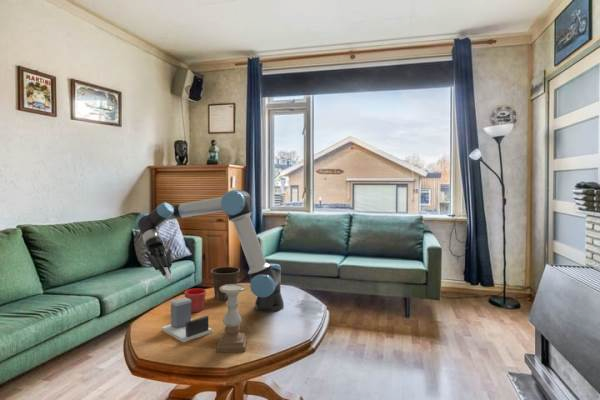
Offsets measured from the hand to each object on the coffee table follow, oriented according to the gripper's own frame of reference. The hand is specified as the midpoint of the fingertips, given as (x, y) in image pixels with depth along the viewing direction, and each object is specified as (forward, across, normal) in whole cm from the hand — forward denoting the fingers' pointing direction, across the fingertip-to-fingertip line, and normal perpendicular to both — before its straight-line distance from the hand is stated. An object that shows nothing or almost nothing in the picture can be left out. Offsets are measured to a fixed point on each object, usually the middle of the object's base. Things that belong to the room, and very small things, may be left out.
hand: (169, 280), depth 166 cm
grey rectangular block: (+20, 0, -6) cm, 21 cm away
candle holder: (+43, -5, +15) cm, 46 cm away
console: (+25, 0, -3) cm, 25 cm away
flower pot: (+10, -18, -19) cm, 28 cm away
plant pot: (+6, -40, -22) cm, 46 cm away
